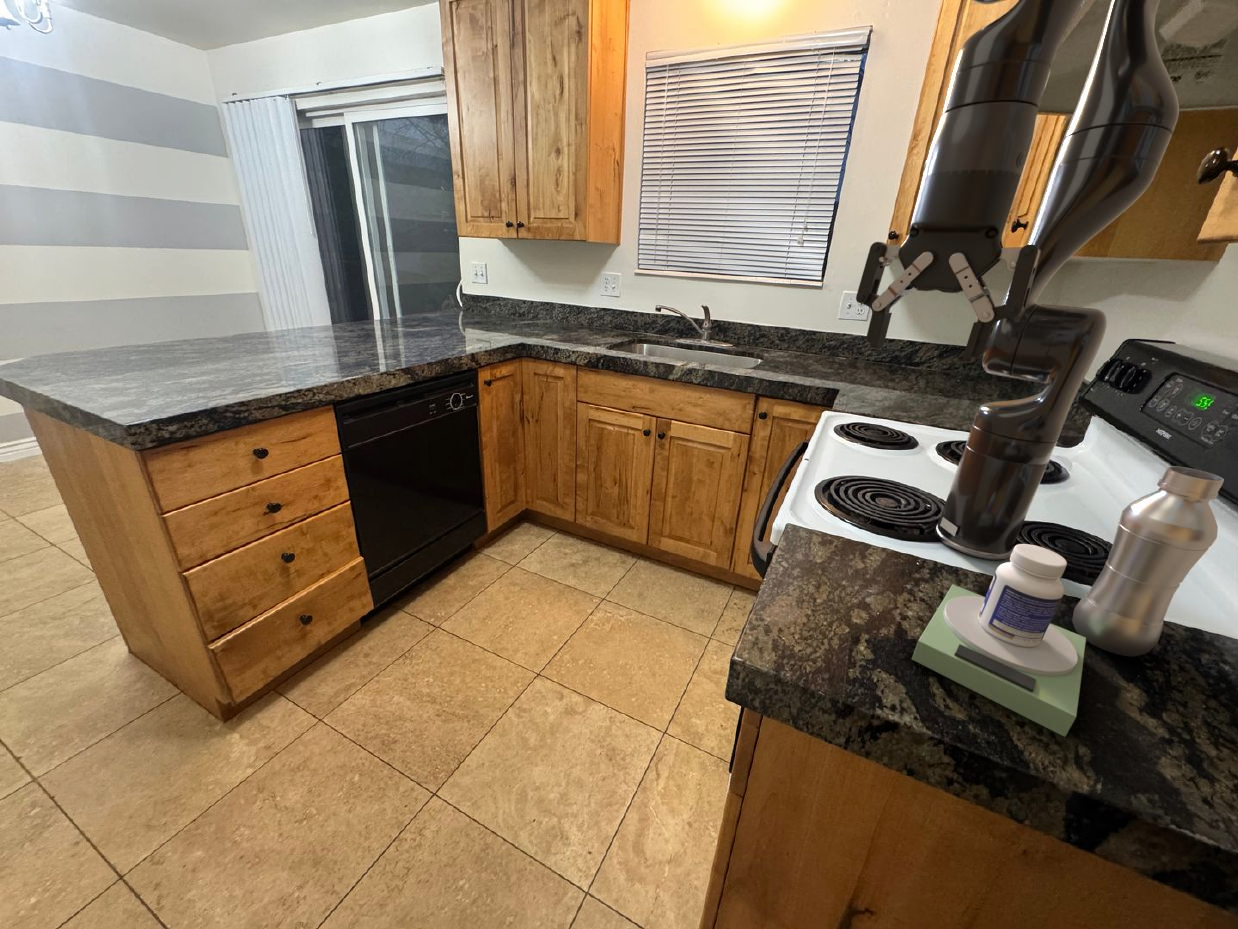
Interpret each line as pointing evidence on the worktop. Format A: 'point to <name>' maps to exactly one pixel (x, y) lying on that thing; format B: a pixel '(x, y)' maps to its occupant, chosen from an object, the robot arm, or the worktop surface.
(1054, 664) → the kitchen scale
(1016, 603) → the pill bottle
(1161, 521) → the silver metal bottle
